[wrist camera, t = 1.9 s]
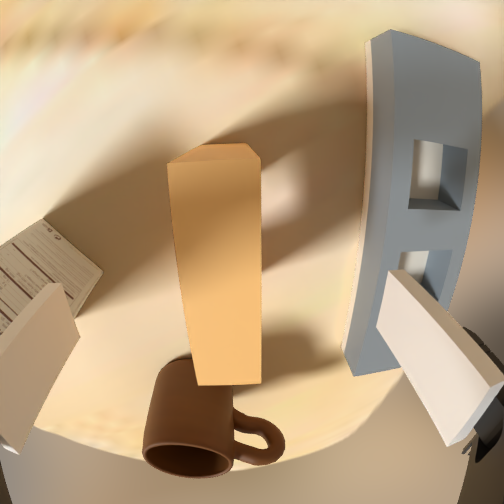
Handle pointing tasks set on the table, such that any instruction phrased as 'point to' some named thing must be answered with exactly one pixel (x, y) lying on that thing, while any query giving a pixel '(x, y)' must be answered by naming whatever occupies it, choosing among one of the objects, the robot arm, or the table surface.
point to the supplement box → (42, 270)
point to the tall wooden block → (219, 258)
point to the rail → (413, 181)
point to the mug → (201, 427)
